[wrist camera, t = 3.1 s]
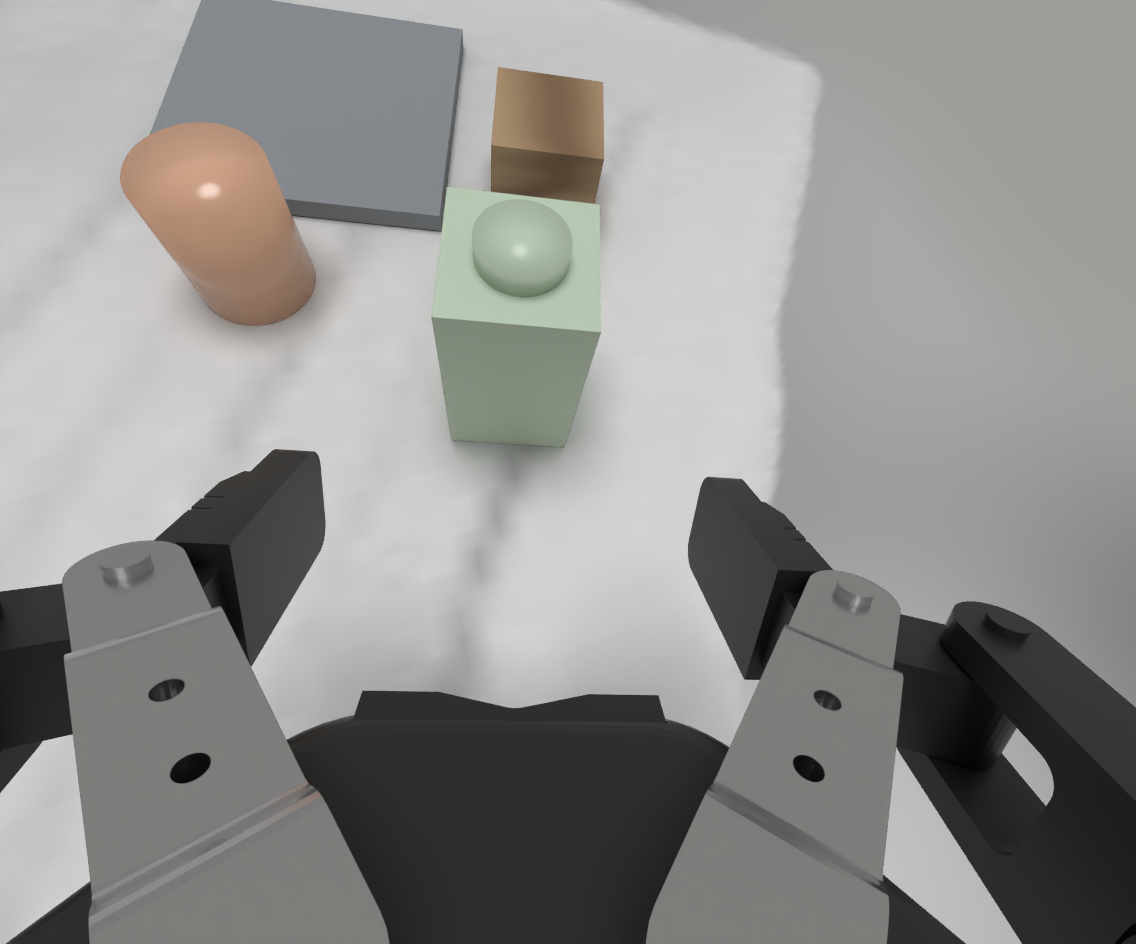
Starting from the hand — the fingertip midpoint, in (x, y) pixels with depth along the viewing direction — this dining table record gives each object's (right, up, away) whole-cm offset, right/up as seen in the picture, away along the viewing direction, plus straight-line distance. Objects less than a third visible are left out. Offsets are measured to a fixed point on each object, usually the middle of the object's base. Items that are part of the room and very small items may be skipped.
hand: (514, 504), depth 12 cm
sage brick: (-1, +4, +14) cm, 15 cm away
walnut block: (0, +15, +18) cm, 24 cm away
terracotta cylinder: (-13, +10, +14) cm, 22 cm away
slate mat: (-12, +20, +18) cm, 30 cm away
